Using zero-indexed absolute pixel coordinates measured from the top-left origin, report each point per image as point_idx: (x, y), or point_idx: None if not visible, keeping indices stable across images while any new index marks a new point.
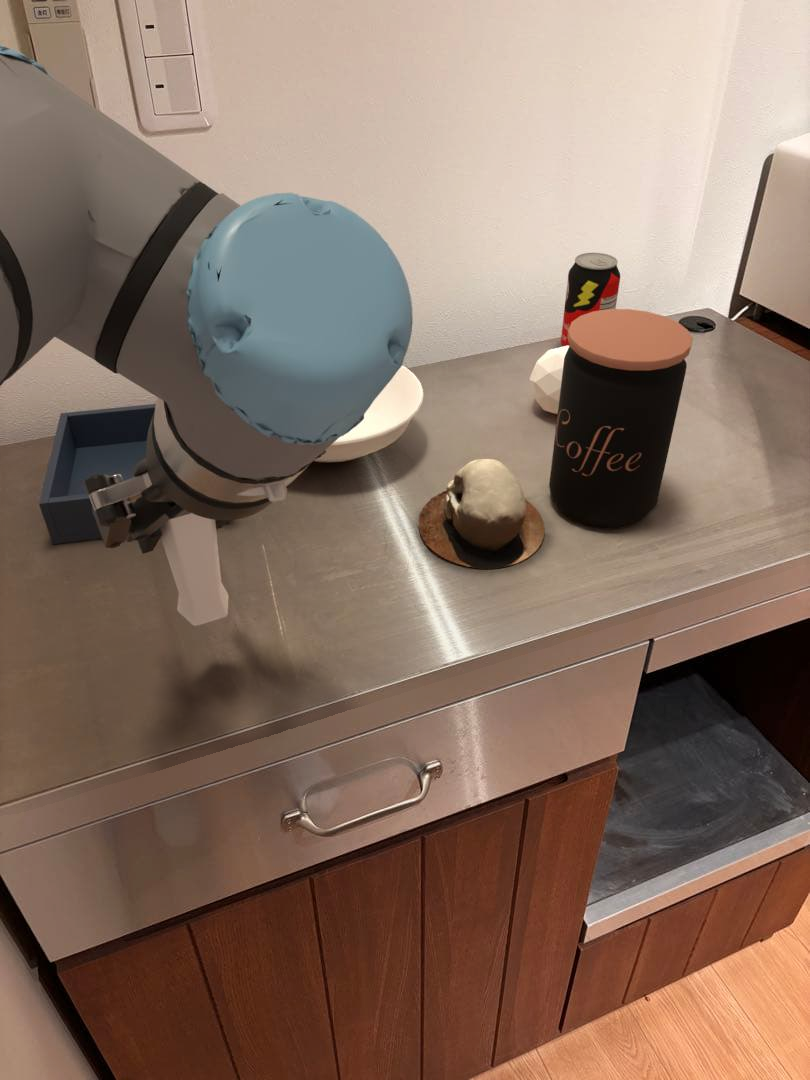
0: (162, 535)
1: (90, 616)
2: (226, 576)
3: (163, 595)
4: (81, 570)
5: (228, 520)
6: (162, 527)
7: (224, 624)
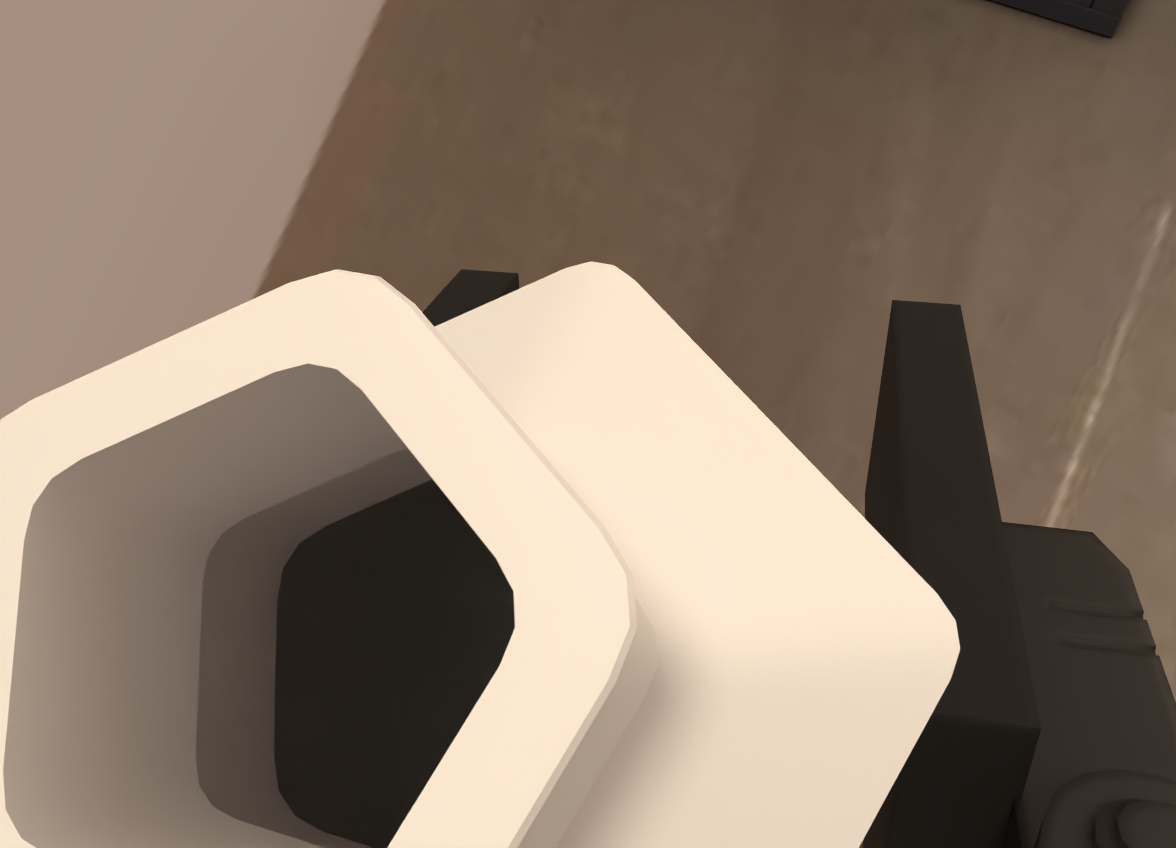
0: (458, 636)
1: (515, 217)
2: (963, 287)
3: (737, 254)
4: (582, 15)
5: (1111, 29)
6: (421, 678)
7: None
